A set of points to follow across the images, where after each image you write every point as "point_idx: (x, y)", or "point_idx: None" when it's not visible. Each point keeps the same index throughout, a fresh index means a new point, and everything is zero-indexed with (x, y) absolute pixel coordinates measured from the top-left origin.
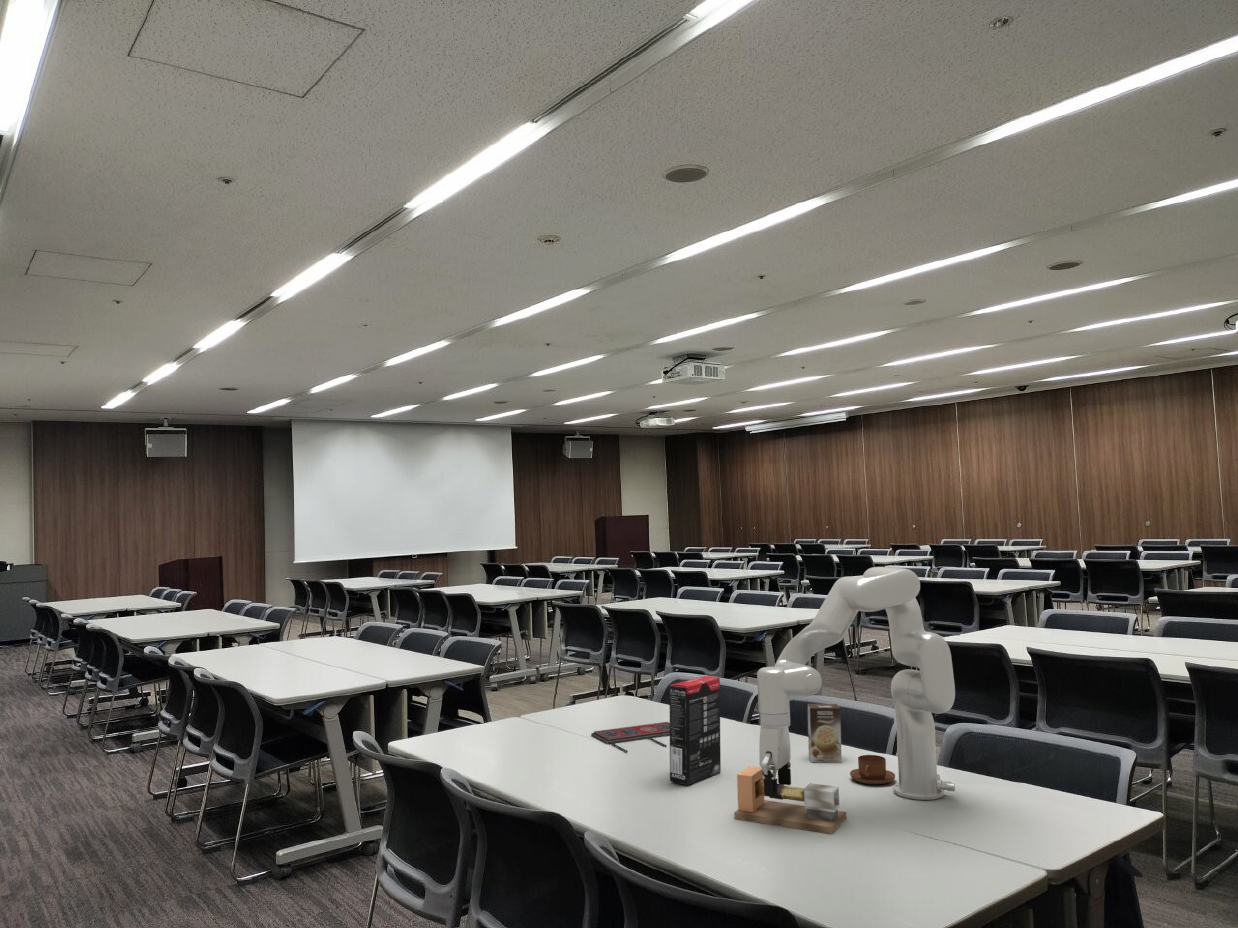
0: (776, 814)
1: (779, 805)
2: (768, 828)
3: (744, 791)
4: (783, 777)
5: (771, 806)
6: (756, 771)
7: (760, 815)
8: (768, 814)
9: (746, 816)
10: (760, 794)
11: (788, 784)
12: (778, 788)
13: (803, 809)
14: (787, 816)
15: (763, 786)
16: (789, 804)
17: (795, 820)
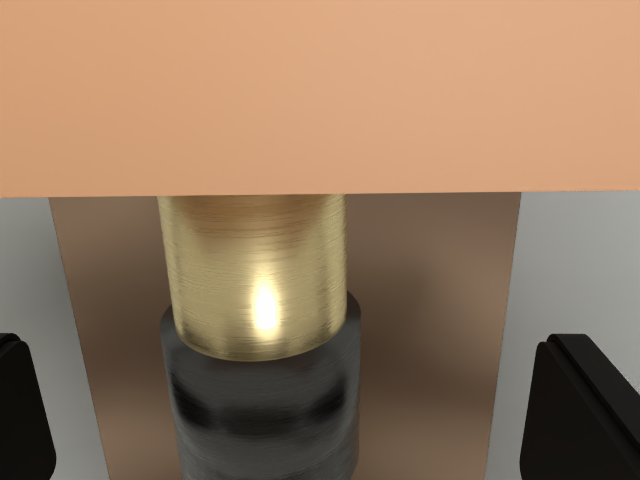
0: None
1: (417, 252)
2: (4, 285)
3: None
4: (566, 473)
5: (358, 198)
6: (225, 137)
7: (72, 197)
8: (136, 251)
9: None
10: None
11: (521, 458)
12: (187, 466)
13: (395, 439)
14: None
15: (178, 256)
16: (479, 316)
17: (130, 458)
